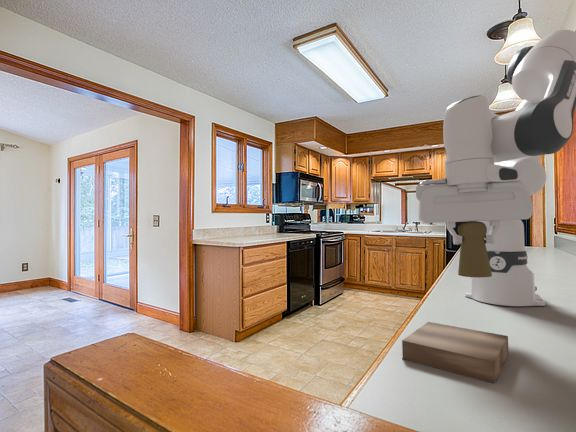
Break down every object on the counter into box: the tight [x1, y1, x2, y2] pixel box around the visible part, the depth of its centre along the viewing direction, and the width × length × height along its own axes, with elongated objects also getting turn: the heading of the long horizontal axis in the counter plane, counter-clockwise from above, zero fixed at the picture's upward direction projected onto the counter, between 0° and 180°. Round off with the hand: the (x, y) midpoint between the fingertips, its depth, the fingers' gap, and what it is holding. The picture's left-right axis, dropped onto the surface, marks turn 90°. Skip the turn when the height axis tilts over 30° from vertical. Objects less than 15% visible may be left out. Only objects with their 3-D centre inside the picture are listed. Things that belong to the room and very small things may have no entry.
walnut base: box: [401, 321, 509, 384], centre depth 54 cm, size 13×13×3 cm
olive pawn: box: [457, 221, 492, 278], centre depth 66 cm, size 6×6×11 cm
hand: (473, 243), depth 66 cm, fingers closed on olive pawn, 4 cm apart
